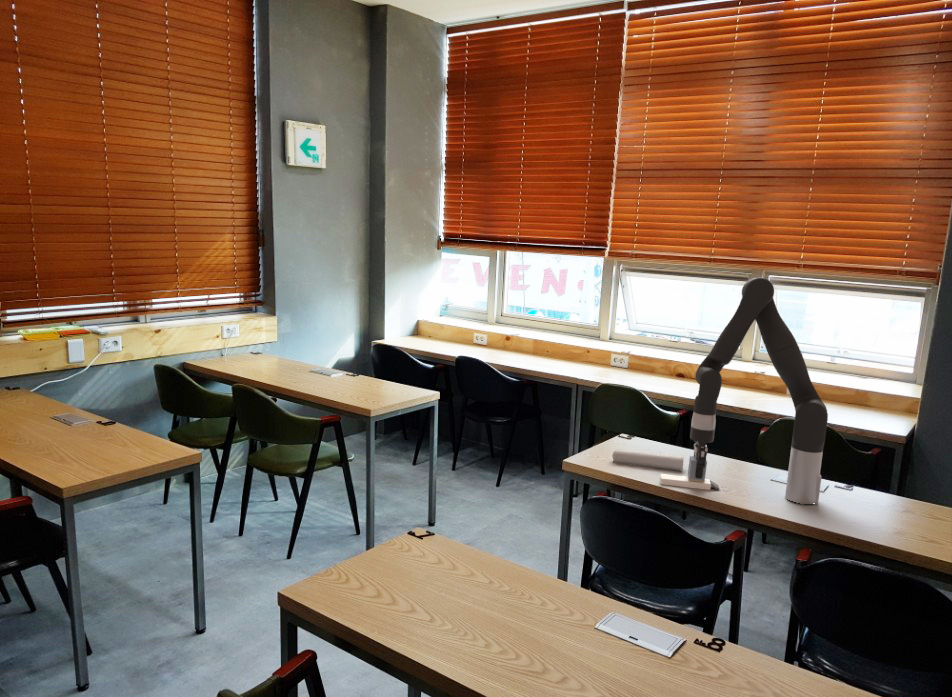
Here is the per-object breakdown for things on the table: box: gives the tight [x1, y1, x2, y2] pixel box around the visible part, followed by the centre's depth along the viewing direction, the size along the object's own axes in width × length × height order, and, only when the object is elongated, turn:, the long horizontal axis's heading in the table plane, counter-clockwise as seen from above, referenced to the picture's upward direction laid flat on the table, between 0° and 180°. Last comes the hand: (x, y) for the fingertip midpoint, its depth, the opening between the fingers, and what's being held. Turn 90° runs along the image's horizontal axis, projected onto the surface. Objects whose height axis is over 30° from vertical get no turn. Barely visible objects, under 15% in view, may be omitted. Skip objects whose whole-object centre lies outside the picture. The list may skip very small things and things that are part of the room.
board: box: [659, 473, 712, 491], centre depth 240 cm, size 16×5×2 cm, turn 78°
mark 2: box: [718, 486, 729, 492], centre depth 238 cm, size 3×4×1 cm
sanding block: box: [687, 455, 708, 482], centre depth 238 cm, size 5×5×7 cm
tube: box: [612, 449, 685, 472], centre depth 258 cm, size 5×5×25 cm
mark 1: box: [709, 479, 720, 491], centre depth 238 cm, size 3×4×1 cm
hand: (697, 475), depth 239 cm, fingers closed on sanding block, 5 cm apart
